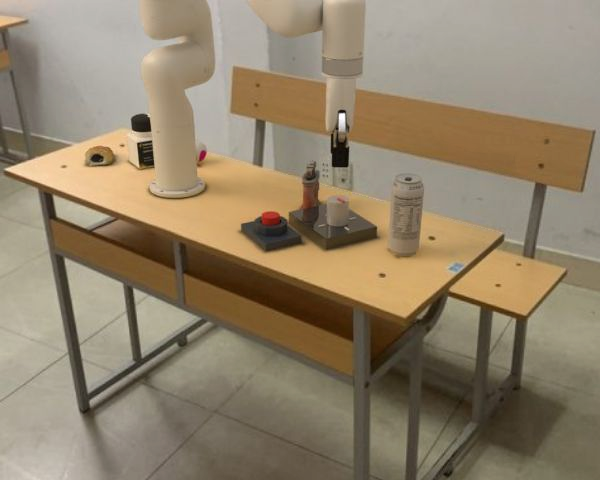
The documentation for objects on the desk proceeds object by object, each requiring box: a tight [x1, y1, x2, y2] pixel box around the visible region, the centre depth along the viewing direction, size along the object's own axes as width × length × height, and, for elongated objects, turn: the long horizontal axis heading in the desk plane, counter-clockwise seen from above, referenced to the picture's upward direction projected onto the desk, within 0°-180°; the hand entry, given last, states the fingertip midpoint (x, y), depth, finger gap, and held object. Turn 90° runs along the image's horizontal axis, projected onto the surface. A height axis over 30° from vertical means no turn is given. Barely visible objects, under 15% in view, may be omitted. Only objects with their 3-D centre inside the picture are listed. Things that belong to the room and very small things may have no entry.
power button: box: [261, 210, 281, 226], centre depth 154 cm, size 4×4×2 cm
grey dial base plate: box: [288, 203, 378, 251], centre depth 158 cm, size 15×12×3 cm
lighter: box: [301, 160, 321, 209], centre depth 166 cm, size 8×3×10 cm, turn 168°
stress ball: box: [195, 139, 208, 167], centre depth 193 cm, size 8×8×7 cm
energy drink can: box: [387, 173, 425, 258], centre depth 147 cm, size 6×6×15 cm
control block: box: [240, 215, 303, 252], centre depth 155 cm, size 11×8×4 cm
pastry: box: [84, 145, 115, 167], centre depth 194 cm, size 9×7×4 cm
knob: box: [326, 194, 350, 227], centre depth 155 cm, size 4×4×5 cm
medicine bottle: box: [126, 113, 155, 170], centre depth 191 cm, size 7×7×12 cm
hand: (339, 159), depth 150 cm, fingers open, 7 cm apart
